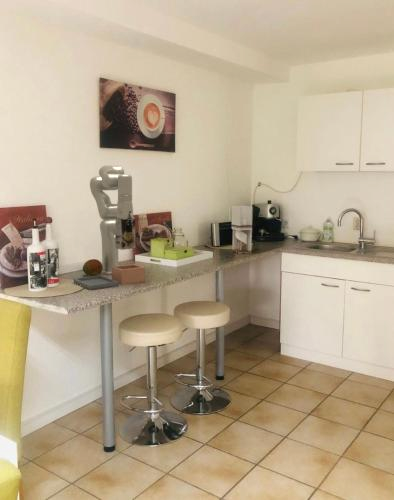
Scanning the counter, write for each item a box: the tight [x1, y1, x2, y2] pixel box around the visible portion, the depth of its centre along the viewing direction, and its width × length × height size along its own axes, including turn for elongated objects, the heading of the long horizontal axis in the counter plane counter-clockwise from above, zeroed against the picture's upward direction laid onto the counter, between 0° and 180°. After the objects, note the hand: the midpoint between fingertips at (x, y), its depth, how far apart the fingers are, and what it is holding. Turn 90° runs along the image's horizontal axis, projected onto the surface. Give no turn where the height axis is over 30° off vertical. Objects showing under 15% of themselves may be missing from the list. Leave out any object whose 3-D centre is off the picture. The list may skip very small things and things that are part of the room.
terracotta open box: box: [111, 263, 146, 286], centre depth 270 cm, size 11×14×8 cm
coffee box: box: [114, 218, 136, 251], centre depth 266 cm, size 9×6×16 cm
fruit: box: [82, 258, 103, 277], centre depth 282 cm, size 12×12×10 cm
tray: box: [73, 274, 120, 291], centre depth 261 cm, size 20×16×2 cm
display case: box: [230, 205, 253, 252], centre depth 370 cm, size 11×11×35 cm
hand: (125, 231), depth 265 cm, fingers closed on coffee box, 7 cm apart
